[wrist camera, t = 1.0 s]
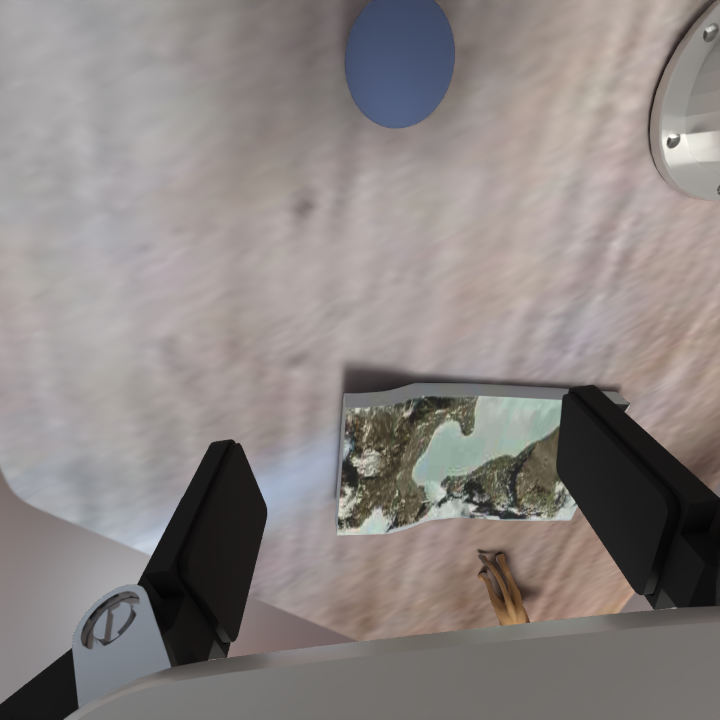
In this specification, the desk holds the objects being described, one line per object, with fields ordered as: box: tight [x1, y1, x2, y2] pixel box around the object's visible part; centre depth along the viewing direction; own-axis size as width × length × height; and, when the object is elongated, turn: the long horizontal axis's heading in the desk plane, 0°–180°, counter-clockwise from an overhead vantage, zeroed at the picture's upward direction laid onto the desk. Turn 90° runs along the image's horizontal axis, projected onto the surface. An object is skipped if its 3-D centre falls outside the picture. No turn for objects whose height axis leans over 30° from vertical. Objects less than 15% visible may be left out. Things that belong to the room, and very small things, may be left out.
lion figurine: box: [478, 554, 530, 626], centre depth 43 cm, size 15×5×9 cm, turn 32°
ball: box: [345, 0, 455, 128], centre depth 21 cm, size 6×6×6 cm
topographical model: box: [335, 383, 631, 535], centre depth 36 cm, size 26×15×5 cm, turn 86°
